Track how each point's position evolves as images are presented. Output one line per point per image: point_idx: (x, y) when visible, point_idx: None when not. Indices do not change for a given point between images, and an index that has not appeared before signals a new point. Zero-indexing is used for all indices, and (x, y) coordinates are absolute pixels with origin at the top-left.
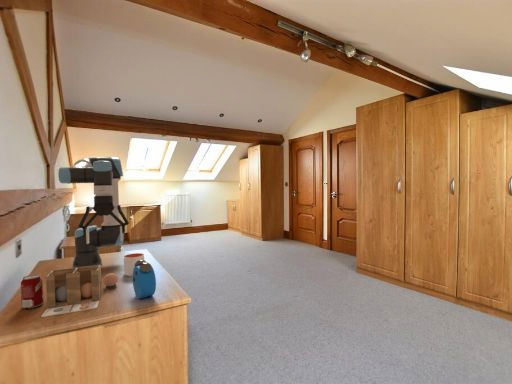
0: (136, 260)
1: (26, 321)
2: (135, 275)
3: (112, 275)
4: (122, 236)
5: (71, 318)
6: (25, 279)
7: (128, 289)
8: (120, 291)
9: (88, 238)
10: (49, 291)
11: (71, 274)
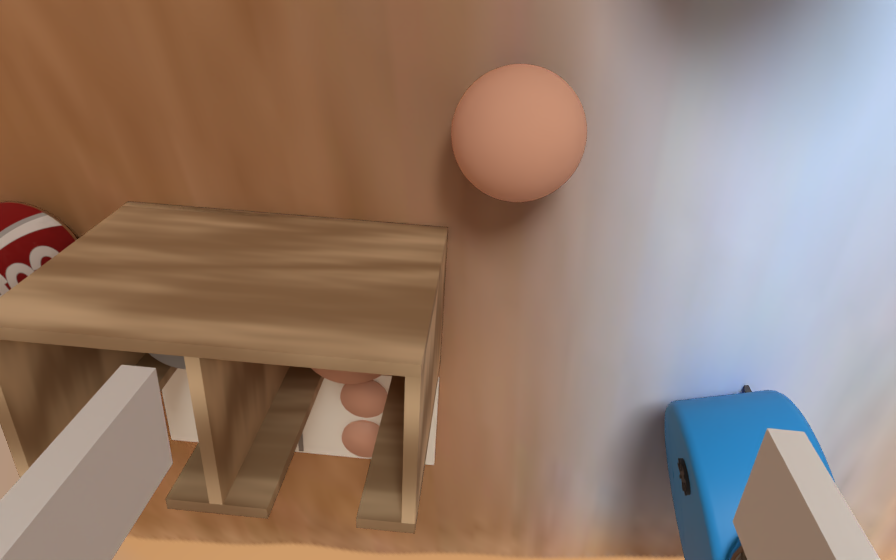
0: None
1: None
2: (699, 545)
3: (537, 187)
4: (833, 502)
5: (328, 508)
6: None
7: (645, 248)
8: (582, 261)
9: (118, 519)
10: None
11: (210, 507)
